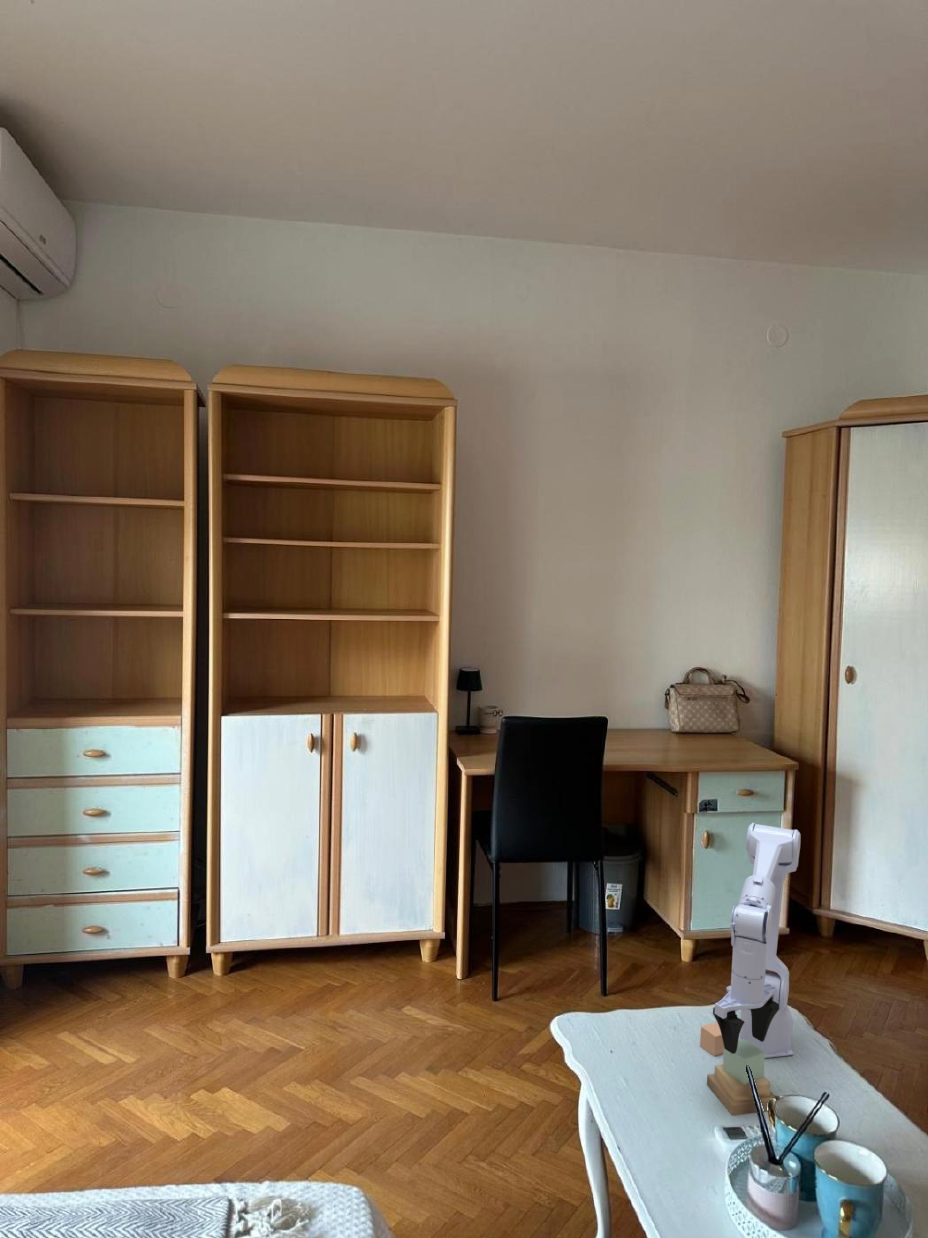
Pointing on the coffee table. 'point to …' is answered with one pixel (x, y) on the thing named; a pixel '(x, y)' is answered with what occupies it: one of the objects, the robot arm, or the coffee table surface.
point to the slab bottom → (729, 1103)
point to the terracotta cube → (712, 1039)
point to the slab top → (740, 1086)
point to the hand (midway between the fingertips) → (744, 1045)
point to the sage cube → (744, 1062)
